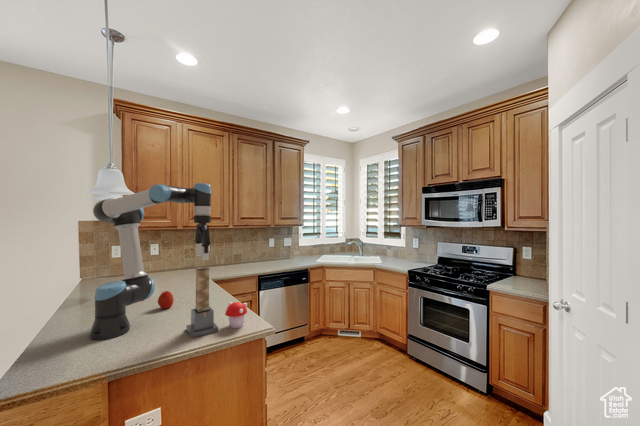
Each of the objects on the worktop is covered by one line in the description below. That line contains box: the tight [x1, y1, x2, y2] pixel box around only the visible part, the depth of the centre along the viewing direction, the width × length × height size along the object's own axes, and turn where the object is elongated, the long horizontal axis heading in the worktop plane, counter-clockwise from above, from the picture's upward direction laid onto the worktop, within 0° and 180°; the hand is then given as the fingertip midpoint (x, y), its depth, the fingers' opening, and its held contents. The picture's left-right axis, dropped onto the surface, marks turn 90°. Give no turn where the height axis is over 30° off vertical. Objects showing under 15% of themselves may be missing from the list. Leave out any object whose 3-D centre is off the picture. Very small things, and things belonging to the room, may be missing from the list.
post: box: [194, 266, 210, 312], centre depth 132 cm, size 5×5×20 cm
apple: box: [157, 290, 174, 310], centre depth 164 cm, size 8×8×11 cm
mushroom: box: [224, 301, 248, 329], centre depth 138 cm, size 11×11×12 cm
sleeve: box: [185, 305, 219, 339], centre depth 132 cm, size 12×12×10 cm
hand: (202, 258), depth 132 cm, fingers open, 13 cm apart
